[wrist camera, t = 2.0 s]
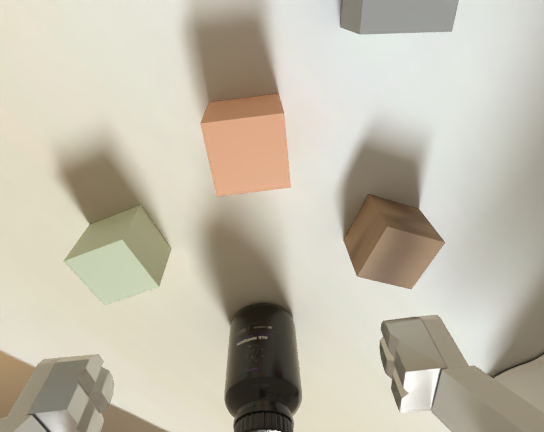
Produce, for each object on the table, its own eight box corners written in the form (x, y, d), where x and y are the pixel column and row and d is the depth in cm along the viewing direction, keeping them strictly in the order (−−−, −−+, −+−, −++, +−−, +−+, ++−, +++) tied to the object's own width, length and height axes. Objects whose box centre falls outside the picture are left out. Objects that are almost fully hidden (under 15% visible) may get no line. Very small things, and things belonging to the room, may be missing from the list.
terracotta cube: (278, 93, 25) (283, 112, 21) (284, 158, 28) (290, 187, 24) (209, 101, 25) (200, 123, 21) (222, 165, 28) (216, 196, 24)
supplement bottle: (253, 291, 35) (254, 411, 25) (306, 317, 37) (326, 437, 27) (217, 330, 38) (204, 453, 28) (268, 352, 40) (274, 472, 30)
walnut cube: (418, 208, 31) (445, 242, 27) (391, 251, 33) (411, 289, 29) (368, 193, 30) (387, 226, 26) (343, 239, 32) (357, 276, 28)
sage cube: (140, 204, 29) (122, 239, 25) (171, 248, 32) (158, 286, 28) (90, 223, 30) (63, 261, 26) (123, 265, 33) (104, 305, 28)
